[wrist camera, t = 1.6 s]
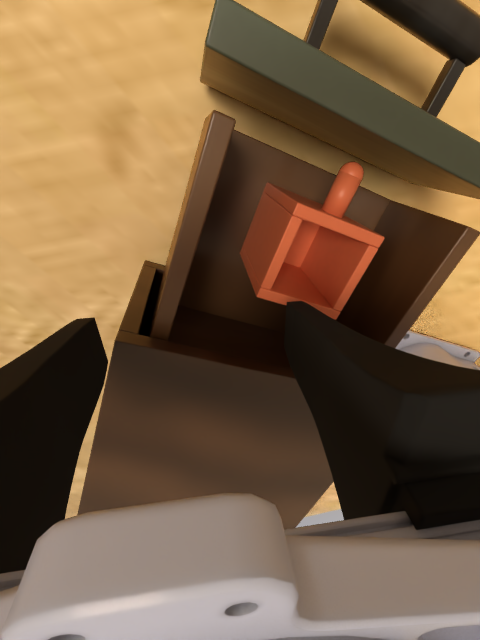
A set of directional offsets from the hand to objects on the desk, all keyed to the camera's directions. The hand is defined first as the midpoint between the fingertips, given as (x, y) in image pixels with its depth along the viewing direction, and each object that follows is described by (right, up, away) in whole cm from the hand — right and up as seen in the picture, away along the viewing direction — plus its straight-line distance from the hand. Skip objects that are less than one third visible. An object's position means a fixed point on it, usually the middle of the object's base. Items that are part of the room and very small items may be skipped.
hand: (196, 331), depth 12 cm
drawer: (+5, +8, +6) cm, 11 cm away
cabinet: (0, -3, +13) cm, 14 cm away
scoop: (+5, +7, +6) cm, 10 cm away
